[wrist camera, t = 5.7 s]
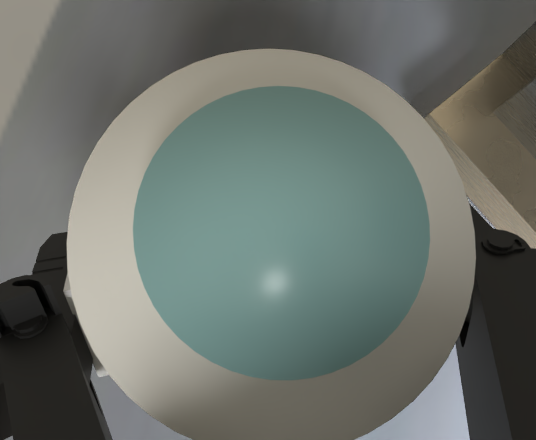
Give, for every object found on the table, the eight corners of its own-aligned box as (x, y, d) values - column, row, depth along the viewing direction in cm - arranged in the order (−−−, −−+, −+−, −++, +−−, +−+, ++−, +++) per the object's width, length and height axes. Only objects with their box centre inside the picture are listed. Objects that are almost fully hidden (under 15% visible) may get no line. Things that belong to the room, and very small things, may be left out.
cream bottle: (377, 291, 20) (605, 258, 8) (237, 414, 18) (251, 601, 6) (263, 157, 20) (310, -68, 8) (121, 267, 19) (-61, 189, 7)
